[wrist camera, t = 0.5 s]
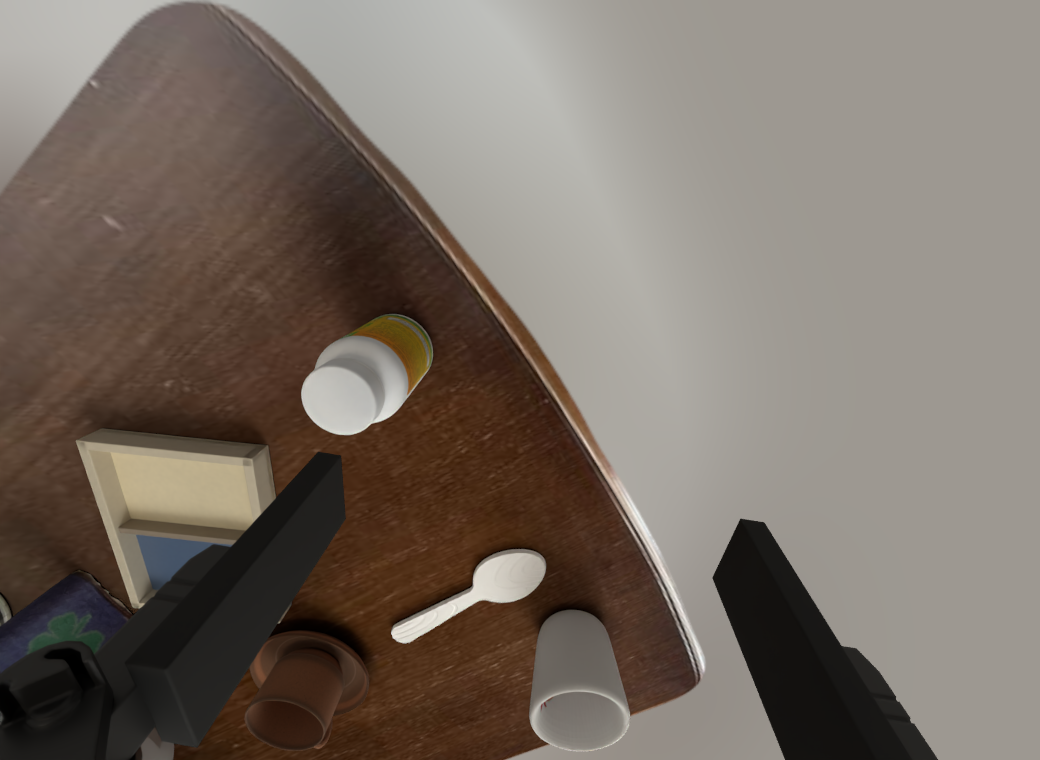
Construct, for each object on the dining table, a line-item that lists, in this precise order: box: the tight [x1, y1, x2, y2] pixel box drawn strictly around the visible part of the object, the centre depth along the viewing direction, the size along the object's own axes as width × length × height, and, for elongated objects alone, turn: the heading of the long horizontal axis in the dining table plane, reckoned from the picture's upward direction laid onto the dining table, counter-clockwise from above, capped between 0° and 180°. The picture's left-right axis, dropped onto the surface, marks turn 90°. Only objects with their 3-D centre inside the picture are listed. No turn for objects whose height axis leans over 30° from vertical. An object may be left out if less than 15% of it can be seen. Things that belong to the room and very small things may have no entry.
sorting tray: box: [76, 428, 292, 624], centre depth 36 cm, size 18×14×2 cm
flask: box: [0, 570, 133, 674], centre depth 36 cm, size 9×3×11 cm, turn 27°
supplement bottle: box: [301, 314, 433, 435], centre depth 26 cm, size 5×5×10 cm
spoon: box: [391, 549, 546, 644], centre depth 38 cm, size 5×18×1 cm, turn 127°
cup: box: [529, 610, 630, 751], centre depth 36 cm, size 11×8×8 cm
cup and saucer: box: [245, 630, 369, 751], centre depth 40 cm, size 12×12×6 cm
